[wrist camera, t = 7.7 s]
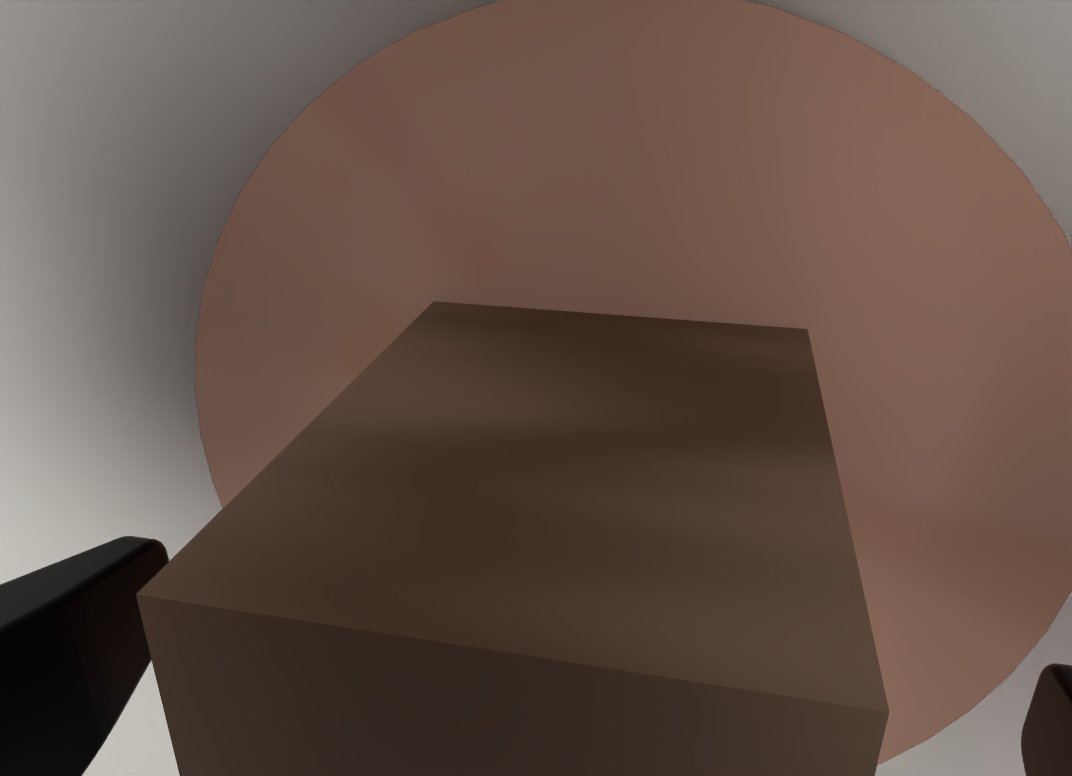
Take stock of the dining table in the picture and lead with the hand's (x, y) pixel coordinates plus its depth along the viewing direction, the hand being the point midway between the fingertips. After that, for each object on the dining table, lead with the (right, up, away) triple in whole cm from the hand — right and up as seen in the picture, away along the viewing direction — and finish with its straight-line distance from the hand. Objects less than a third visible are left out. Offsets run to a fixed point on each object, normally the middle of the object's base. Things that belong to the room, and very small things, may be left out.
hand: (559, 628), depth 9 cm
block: (+1, +1, +3) cm, 3 cm away
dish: (+1, +2, +4) cm, 4 cm away
